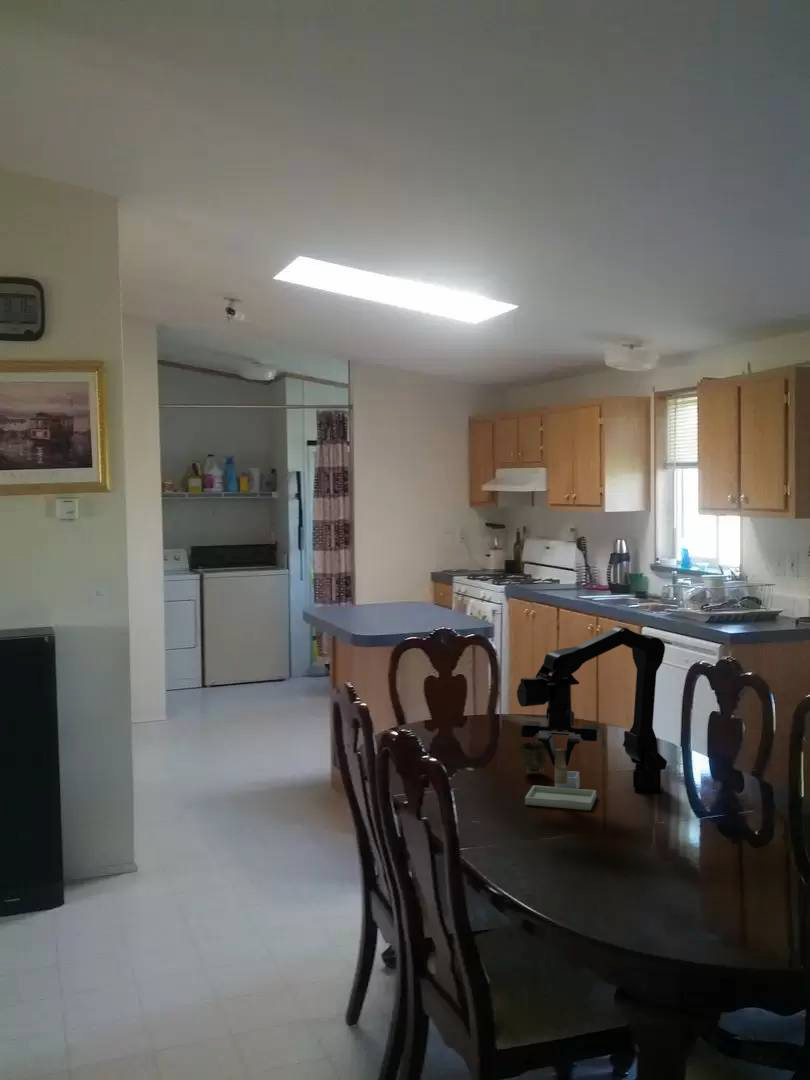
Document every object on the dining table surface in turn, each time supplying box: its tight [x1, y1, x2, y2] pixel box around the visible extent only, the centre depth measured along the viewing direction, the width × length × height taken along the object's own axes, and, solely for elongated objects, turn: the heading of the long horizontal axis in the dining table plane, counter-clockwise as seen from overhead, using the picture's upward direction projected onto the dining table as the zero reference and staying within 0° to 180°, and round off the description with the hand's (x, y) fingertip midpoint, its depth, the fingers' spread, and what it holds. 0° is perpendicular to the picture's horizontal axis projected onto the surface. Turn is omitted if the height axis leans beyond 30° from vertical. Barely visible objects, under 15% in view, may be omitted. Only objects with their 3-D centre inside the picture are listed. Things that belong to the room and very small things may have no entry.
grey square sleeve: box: [554, 770, 581, 789], centre depth 241 cm, size 6×6×4 cm
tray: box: [524, 785, 597, 811], centre depth 232 cm, size 16×10×2 cm, turn 71°
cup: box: [519, 741, 548, 776], centre depth 255 cm, size 8×7×8 cm
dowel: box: [554, 748, 568, 784], centre depth 232 cm, size 3×3×8 cm
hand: (560, 765), depth 232 cm, fingers closed on dowel, 3 cm apart
